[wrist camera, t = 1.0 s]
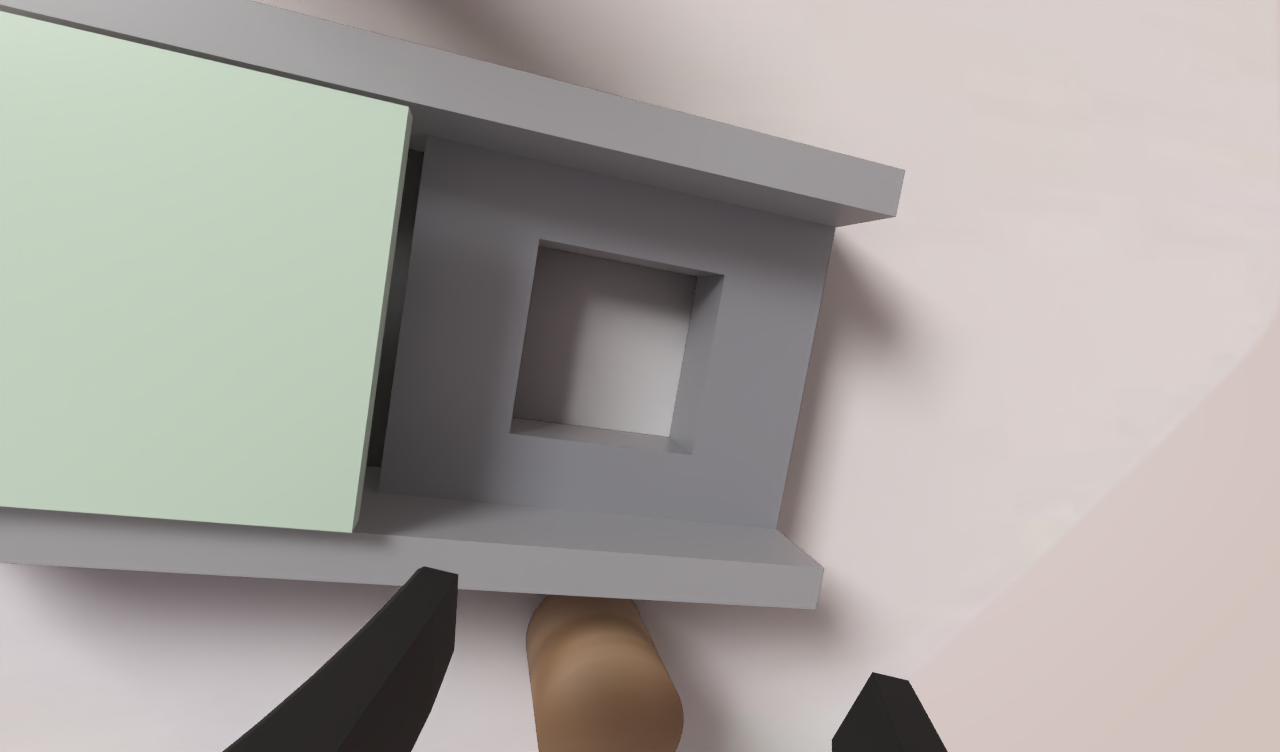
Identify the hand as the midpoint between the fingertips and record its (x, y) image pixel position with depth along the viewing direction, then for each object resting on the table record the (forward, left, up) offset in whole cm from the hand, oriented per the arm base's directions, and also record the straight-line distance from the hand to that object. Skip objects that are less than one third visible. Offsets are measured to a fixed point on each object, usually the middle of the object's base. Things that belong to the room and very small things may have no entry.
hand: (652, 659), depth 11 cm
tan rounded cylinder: (-5, -1, -11) cm, 12 cm away
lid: (+5, +12, -5) cm, 14 cm away
